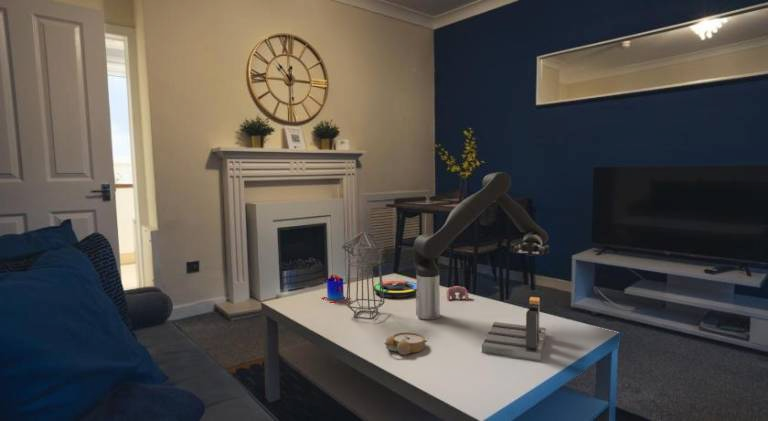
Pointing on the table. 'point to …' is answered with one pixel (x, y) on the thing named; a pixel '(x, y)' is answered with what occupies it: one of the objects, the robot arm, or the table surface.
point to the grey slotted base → (517, 338)
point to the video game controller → (457, 289)
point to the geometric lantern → (353, 243)
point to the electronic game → (397, 289)
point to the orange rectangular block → (534, 300)
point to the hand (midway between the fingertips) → (527, 251)
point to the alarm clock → (405, 343)
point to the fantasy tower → (335, 290)
